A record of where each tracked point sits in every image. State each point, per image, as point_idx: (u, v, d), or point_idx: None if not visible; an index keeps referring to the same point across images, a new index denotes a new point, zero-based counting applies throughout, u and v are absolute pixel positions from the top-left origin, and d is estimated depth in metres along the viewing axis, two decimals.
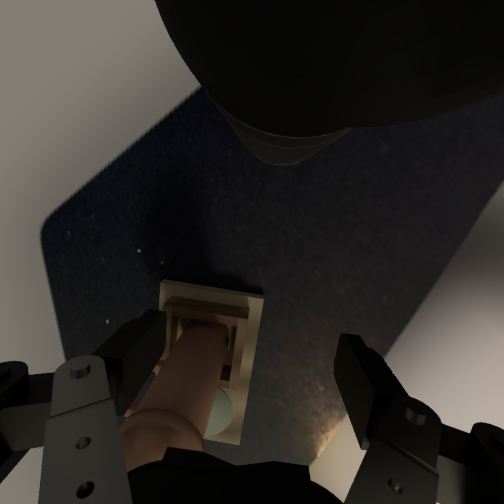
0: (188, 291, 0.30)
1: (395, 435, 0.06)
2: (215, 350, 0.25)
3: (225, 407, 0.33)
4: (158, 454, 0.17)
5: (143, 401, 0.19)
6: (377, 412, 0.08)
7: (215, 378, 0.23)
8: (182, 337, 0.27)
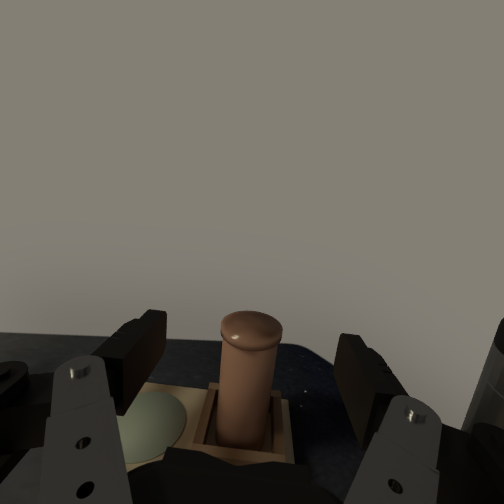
0: (285, 420, 0.32)
1: (395, 435, 0.06)
2: (262, 415, 0.26)
3: (140, 452, 0.26)
4: (252, 325, 0.26)
5: None
6: (377, 412, 0.08)
7: (254, 400, 0.25)
8: None
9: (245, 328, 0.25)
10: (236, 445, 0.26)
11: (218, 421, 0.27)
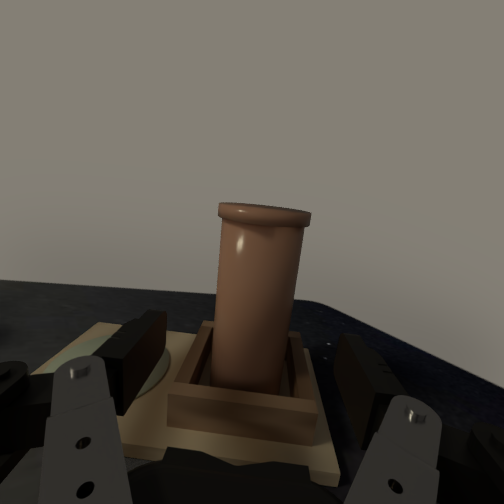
0: (307, 369, 0.23)
1: (395, 435, 0.06)
2: (279, 344, 0.18)
3: None
4: (266, 207, 0.17)
5: None
6: (377, 412, 0.08)
7: (269, 315, 0.16)
8: None
9: (255, 207, 0.17)
10: (240, 389, 0.17)
11: (214, 357, 0.19)
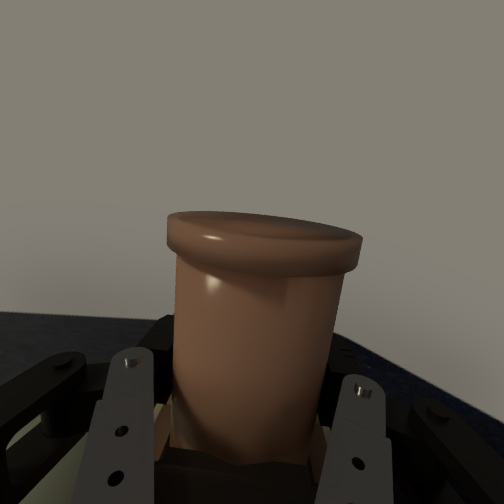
0: None
1: (339, 406, 0.07)
2: None
3: None
4: (267, 223, 0.09)
5: None
6: (333, 390, 0.09)
7: (273, 455, 0.08)
8: None
9: (245, 224, 0.08)
10: None
11: None
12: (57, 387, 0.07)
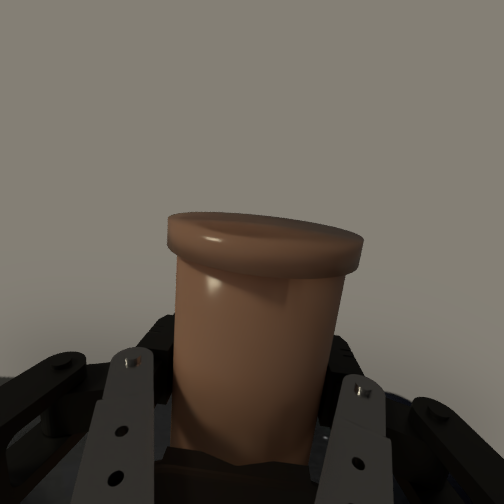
0: None
1: (339, 406, 0.07)
2: None
3: None
4: (267, 224, 0.09)
5: None
6: (333, 390, 0.09)
7: (275, 457, 0.08)
8: None
9: (245, 225, 0.08)
10: None
11: None
12: (57, 387, 0.07)
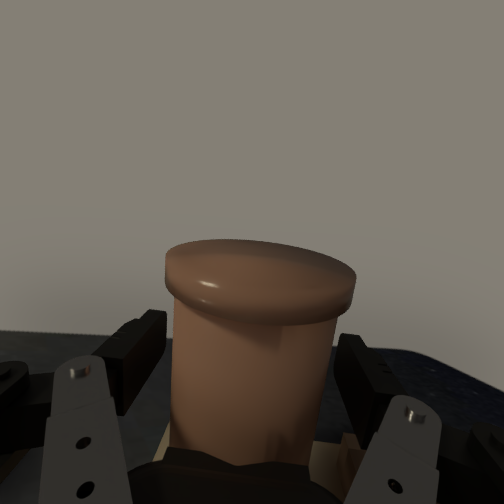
0: None
1: (395, 435, 0.06)
2: None
3: None
4: (263, 259, 0.09)
5: None
6: (377, 412, 0.08)
7: None
8: None
9: (241, 262, 0.08)
10: None
11: None
12: None
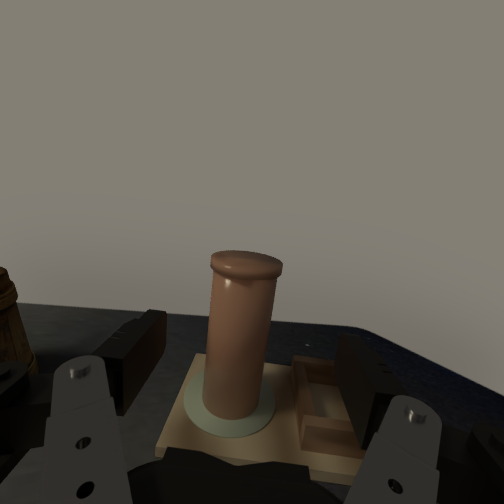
0: None
1: (395, 435, 0.06)
2: (257, 366, 0.22)
3: (237, 426, 0.22)
4: (248, 259, 0.22)
5: None
6: (377, 412, 0.08)
7: (248, 344, 0.21)
8: None
9: (239, 260, 0.22)
10: (226, 401, 0.22)
11: (205, 374, 0.23)
12: None
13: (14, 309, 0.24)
